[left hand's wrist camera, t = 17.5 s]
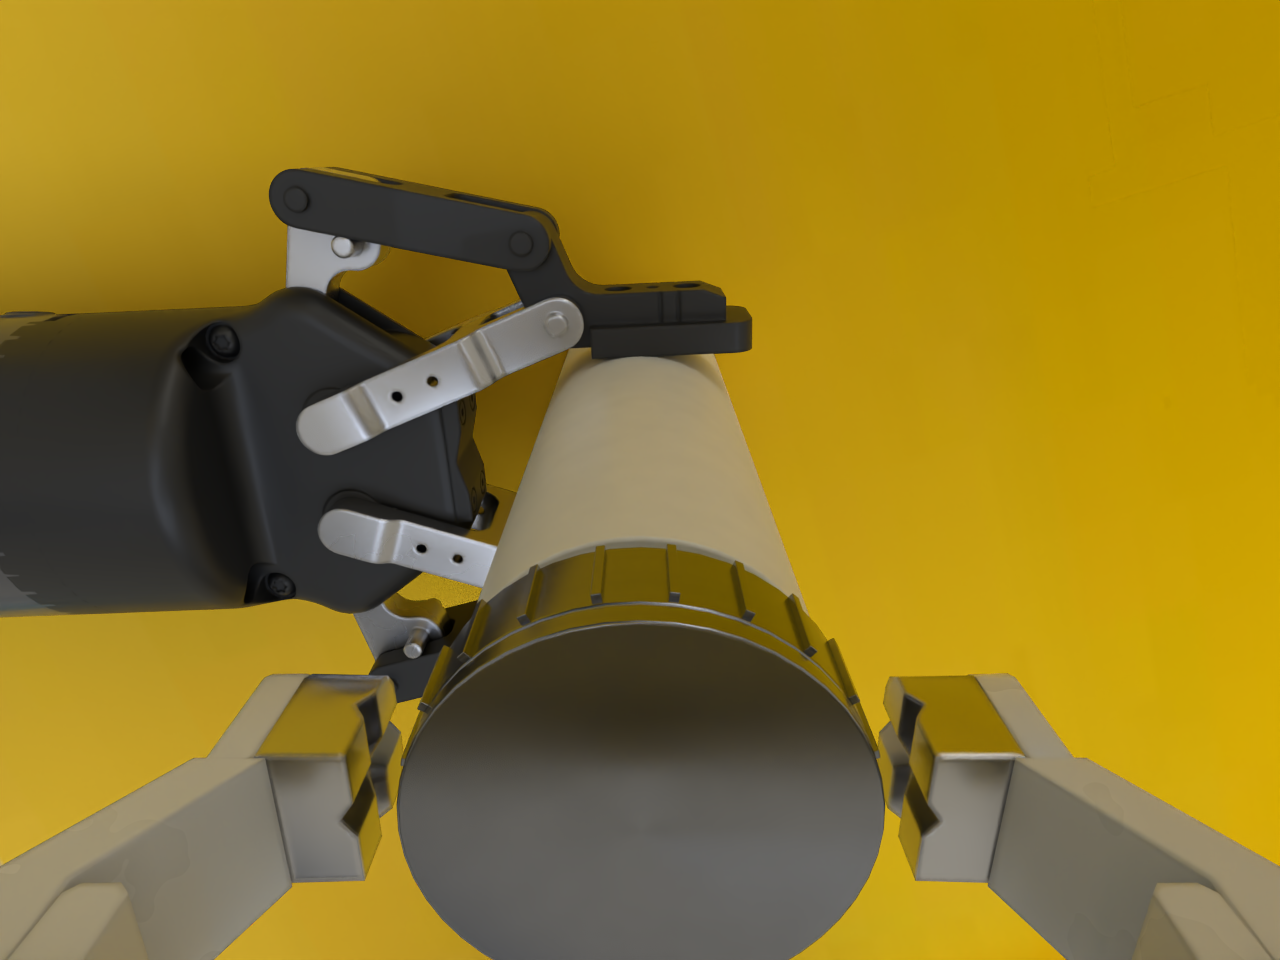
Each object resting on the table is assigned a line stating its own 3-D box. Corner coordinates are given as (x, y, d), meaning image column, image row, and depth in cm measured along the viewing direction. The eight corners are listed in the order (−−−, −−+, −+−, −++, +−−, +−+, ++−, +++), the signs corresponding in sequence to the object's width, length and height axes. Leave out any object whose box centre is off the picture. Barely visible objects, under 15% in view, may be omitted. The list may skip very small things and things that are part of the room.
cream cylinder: (670, 272, 25) (732, 516, 8) (744, 406, 27) (921, 842, 10) (534, 351, 26) (339, 717, 9) (613, 476, 28) (570, 984, 11)
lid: (538, 933, 12) (523, 1051, 10) (346, 633, 10) (291, 720, 8) (905, 820, 11) (948, 929, 9) (771, 471, 9) (797, 535, 7)
